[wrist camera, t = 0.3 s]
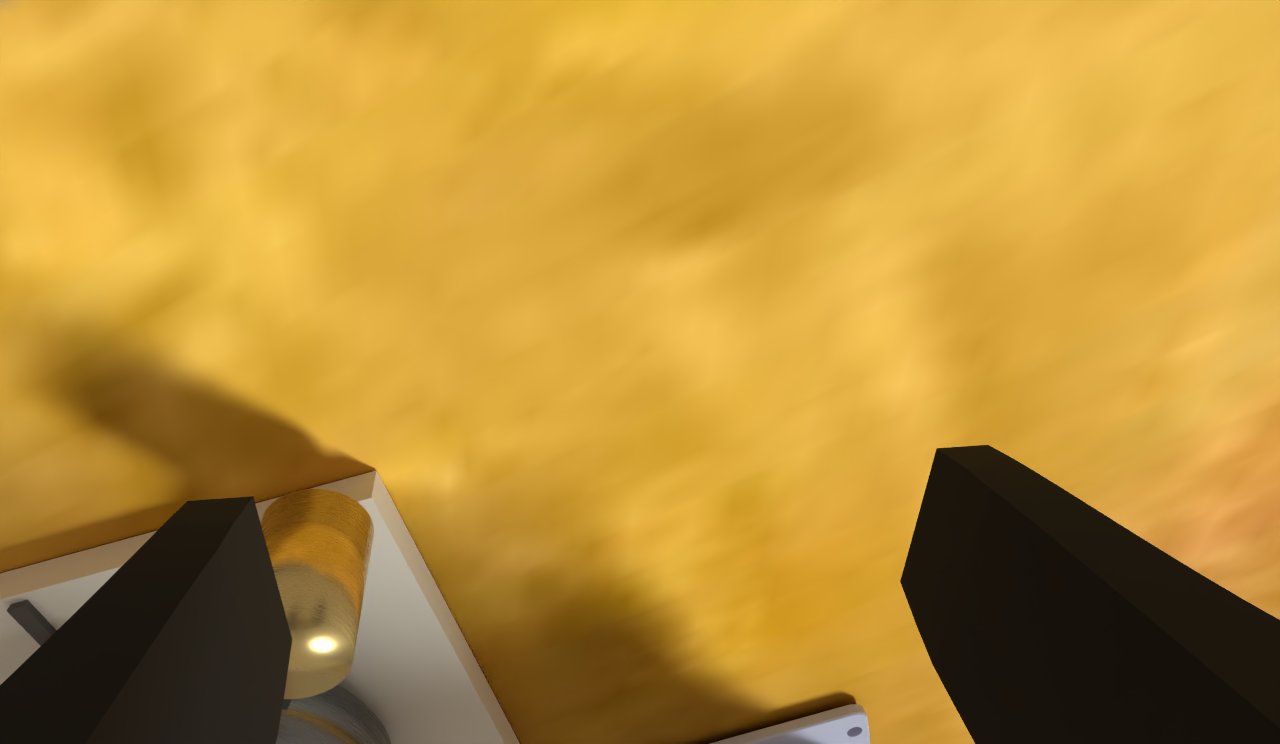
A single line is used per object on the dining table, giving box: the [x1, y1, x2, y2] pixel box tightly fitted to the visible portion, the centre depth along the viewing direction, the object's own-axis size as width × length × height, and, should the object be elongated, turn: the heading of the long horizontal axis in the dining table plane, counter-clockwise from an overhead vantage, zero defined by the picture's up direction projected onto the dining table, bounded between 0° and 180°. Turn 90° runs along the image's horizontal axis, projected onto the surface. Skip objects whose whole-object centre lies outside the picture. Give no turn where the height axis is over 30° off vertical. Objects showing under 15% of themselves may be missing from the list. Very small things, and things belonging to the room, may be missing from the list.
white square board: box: [0, 471, 520, 744], centre depth 23 cm, size 14×14×1 cm
